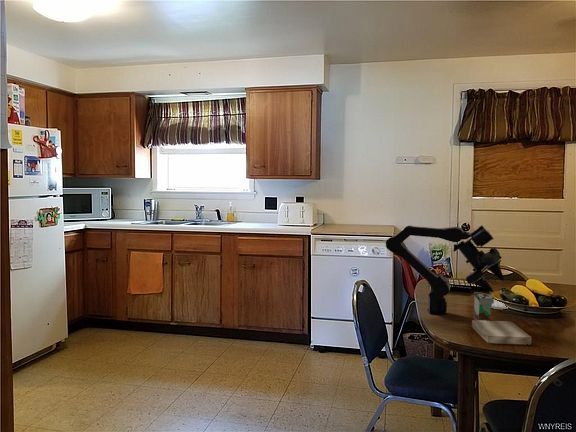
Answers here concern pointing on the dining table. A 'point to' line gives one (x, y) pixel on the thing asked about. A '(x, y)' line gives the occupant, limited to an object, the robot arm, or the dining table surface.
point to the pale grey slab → (501, 332)
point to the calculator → (498, 305)
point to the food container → (482, 306)
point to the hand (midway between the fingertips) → (498, 285)
